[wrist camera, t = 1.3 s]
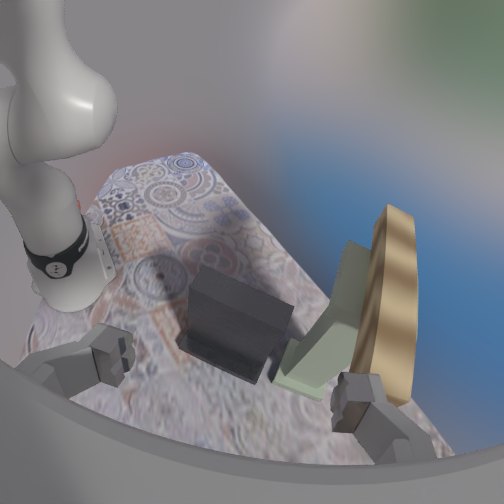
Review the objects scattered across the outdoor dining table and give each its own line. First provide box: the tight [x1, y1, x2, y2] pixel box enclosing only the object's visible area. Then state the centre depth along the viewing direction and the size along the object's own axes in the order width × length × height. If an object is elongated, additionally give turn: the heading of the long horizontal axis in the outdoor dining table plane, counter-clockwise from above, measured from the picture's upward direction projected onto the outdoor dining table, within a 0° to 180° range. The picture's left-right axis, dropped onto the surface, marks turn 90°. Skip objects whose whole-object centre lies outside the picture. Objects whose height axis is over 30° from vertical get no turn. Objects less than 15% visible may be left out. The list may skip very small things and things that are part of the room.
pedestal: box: [272, 240, 418, 402], centre depth 39 cm, size 10×10×26 cm
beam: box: [349, 204, 417, 407], centre depth 27 cm, size 24×4×4 cm, turn 158°
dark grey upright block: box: [179, 266, 294, 385], centre depth 43 cm, size 8×14×16 cm, turn 68°
